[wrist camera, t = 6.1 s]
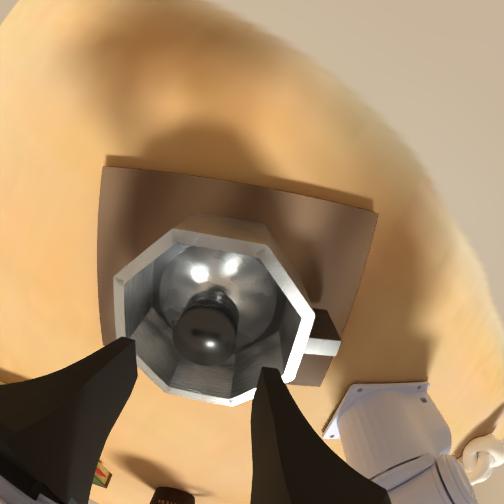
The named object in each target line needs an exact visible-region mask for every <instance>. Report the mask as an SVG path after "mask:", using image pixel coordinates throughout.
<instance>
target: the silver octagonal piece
mask: <svg viewBox="0 0 504 504" xmlns="http://www.w3.org/2000/svg"><path fill="white" fill-rule="evenodd" d="M190 246H197V247H203V248H208V249H214V250H219V251H225V252H230V253H236V254H242V255H247V256H253V257H258V258H259V259H260V260H261V261H262V263H263V264H264V266H265V267H266V268H267V270H268V271H269V273H270V275H271V277H272V279H273V283H274V286H275V293H276V308H275V313H274V316H273V319H272V321H271V323H270V325H269V326H268V328H267V329H266V330H265V331H264V332H263V334H262V335H261V336H259V337H258V338H257V339H256V340H254V341H252V342H251V343H249V344H247V345H245V346H242V347H239V348H235V350H234V353H233V354H232V356H231V357H230V358H229V359H228V360H227V361H225V362H224V363H222V364H219V365H215V366H202V365H198V364H195V363H192V362H190V361H188V360H187V359H185V358H184V357H183V356H182V355H181V354H180V353H179V352H178V351H177V349H176V347H175V345H174V343H173V336H172V335H173V330H174V328H173V327H172V326H171V325H170V323H169V322H168V320H167V319H166V317H165V315H164V313H163V310H162V307H161V304H160V298H159V288H160V282H161V278H162V275H163V273H164V271H165V269H166V267H167V266H168V264H169V263H170V262H171V261H172V260H173V259H174V258H175V256H177V255H178V254H179V253H180V252H181V251H183V250H184V249H186V248H187V247H190ZM113 287H114V313H115V328H116V339H118V338H120V337H122V336H123V337H127V338H130V339H133V340H135V345H136V361H137V366H138V367H139V368H140V369H141V370H142V371H143V372H144V373H145V374H146V375H147V376H148V377H149V378H150V379H151V380H152V381H153V382H154V383H155V384H156V385H157V386H158V387H160V388H161V389H162V390H163V391H164V392H166V393H168V394H173V395H177V396H181V397H185V398H190V399H195V400H199V401H205V402H210V403H215V404H221V405H227V406H235V405H238V404H240V403H242V402H245V401H247V400H250V399H252V398H253V397H254V393H255V390H256V386H257V383H258V379H259V376H260V372H261V368H262V366H263V367H271V368H277V369H278V370H279V371H280V374H281V376H282V378H283V380H284V382H285V383H287V382H289V381H291V380H293V379H294V377H295V374H296V371H297V369H298V366H299V363H300V360H301V357H302V355H303V353H305V354H315V355H327V356H336V354H337V352H338V349H339V347H340V344H341V342H342V341H341V338H340V336H339V334H338V332H337V330H336V328H335V326H334V323H333V321H332V319H331V317H330V315H329V313H328V311H327V310H325V309H317V308H312V305H311V303H310V300H309V297H308V295H307V292H306V290H305V287H304V285H303V282H302V280H301V277H300V275H299V274H298V272H297V271H296V270H295V268H294V267H293V265H292V264H291V262H290V261H289V259H288V258H287V256H286V255H285V253H284V252H283V250H282V249H281V247H280V246H279V244H278V243H277V242H276V240H275V239H274V237H273V236H272V234H271V233H270V231H269V230H268V228H267V227H266V226H265V224H262V223H256V222H251V221H245V220H240V219H234V218H228V217H223V216H217V215H211V214H205V213H199V212H198V213H195V214H194V215H192V216H191V217H189V218H188V219H186V220H185V221H183V222H182V223H180V224H179V225H177V226H175V227H174V228H172V229H171V230H170V231H169V232H167V233H166V234H165V235H163V236H162V237H161V238H160V239H158V240H157V241H156V242H155V243H153V244H152V245H151V246H150V247H148V248H147V249H146V250H145V251H144V252H142V253H141V254H140V255H139V256H137V257H136V258H135V259H134V260H133V261H131V262H130V263H129V264H128V265H127V266H125V267H124V268H123V269H122V270H121V271H120V272H118V273H117V274H116V275H115V276H114V277H113Z"/></svg>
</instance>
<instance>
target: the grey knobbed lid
mask: <svg viewBox="0 0 504 504" xmlns="http://www.w3.org/2000/svg"><path fill="white" fill-rule="evenodd" d="M159 298H160V304H161V307H162V310H163V313H164V315H165V317H166V319H167V320H168V322H169V323H170V325H171V326H172V327H173V328H174V330H173V335H172V336H173V343H174V345H175V347H176V349H177V351H178V352H179V353H180V354H181V355H182V356H183V357H184V358H185V359H187V360H188V361H190V362H192V363H195V364H198V365H202V366H215V365H219V364H222V363H224V362H225V361H227V360H228V359H229V358H230V357H231V356H232V354H233V353H234V350H235V348H239V347H242V346H245V345H247V344H249V343H251V342H252V341H254V340H256V339H257V338H258V337H259V336H261V335H262V334H263V332H264V331H265V330H266V329H267V328H268V326H269V325H270V323H271V321H272V319H273V316H274V313H275V308H276V293H275V286H274V283H273V279H272V277H271V275H270V273H269V271H268V270H267V268H266V267H265V266H264V264H263V263H262V261H261V260H260V259H259V258H258V257H253V256H247V255H242V254H236V253H230V252H225V251H219V250H214V249H208V248H203V247H197V246H190V247H187V248H186V249H184V250H183V251H181V252H180V253H179V254H178V255H177V256H175V258H174V259H173V260H172V261H171V262H170V263H169V264H168V266H167V267H166V269H165V271H164V273H163V275H162V278H161V282H160V288H159Z"/></svg>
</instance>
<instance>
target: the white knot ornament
mask: <svg viewBox="0 0 504 504" xmlns="http://www.w3.org/2000/svg"><path fill="white" fill-rule="evenodd" d="M457 461H458V462H459V464H460V465H461V467H462V468H463V470H464V472H465V474H466V475H467V477H468V479H469V481H470V484H471V485H473V484H475V483H478V482H482V481H485V480H486V479H487V478H488V477H489V476H490V475H491V473H492V471H493V469H494V467H496V466H499V465H501V464H502V463H504V443H503V442H502V441H501V440H499V439H497V438H495V437H494V435H493V434H487V435H485V436H483V437H478V438H475V439H473V440H471V441H470V442H469V443H468V444H467V446H466V447H465V449H464V451H463V455H462V456H461V457H460V458H459V459H458V460H457ZM465 469H466V470H465ZM466 471H467V472H466Z"/></svg>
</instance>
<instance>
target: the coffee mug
mask: <svg viewBox="0 0 504 504" xmlns="http://www.w3.org/2000/svg"><path fill="white" fill-rule="evenodd" d="M150 504H195V498H194V497H193V496H192V495H191V494H189V493H187V492H184V491H181V490H178V489H174V488H168V487H158V488H157V489H156V491H155V493H154V495H153V497H152V500H151V502H150Z"/></svg>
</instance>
